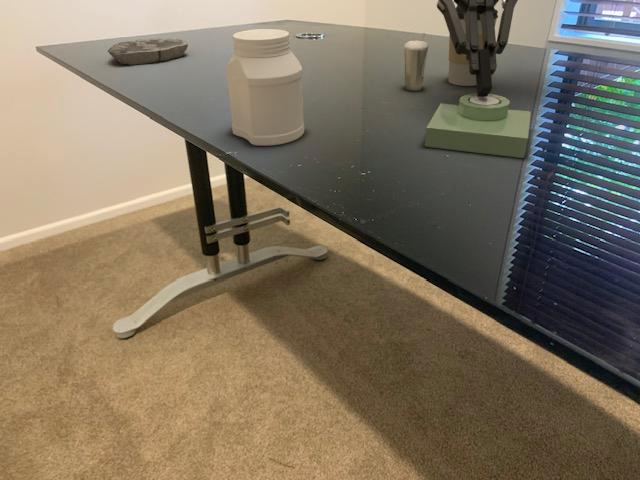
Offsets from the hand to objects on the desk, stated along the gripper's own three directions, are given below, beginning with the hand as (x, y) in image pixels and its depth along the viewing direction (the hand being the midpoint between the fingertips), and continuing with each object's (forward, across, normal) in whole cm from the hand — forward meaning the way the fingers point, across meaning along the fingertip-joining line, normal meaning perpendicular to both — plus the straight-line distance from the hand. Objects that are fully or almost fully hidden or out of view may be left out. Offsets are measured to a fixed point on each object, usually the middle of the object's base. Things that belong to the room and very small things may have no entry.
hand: (484, 92), depth 77 cm
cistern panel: (+7, +1, -2) cm, 7 cm away
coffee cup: (-16, -4, -25) cm, 30 cm away
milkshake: (-13, +7, -22) cm, 26 cm away
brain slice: (-35, +71, -44) cm, 91 cm away
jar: (+4, +34, -5) cm, 34 cm away
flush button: (+3, 0, -2) cm, 3 cm away
